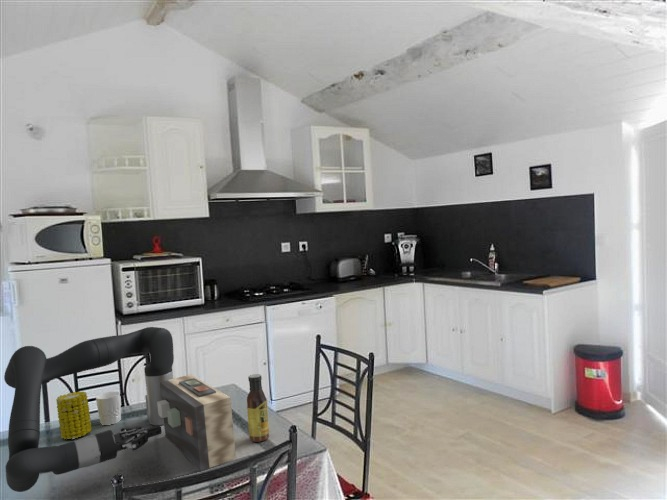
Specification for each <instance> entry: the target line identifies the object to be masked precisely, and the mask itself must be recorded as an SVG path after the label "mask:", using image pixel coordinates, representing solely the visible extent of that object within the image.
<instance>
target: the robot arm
mask: <svg viewBox="0 0 667 500" xmlns="http://www.w3.org/2000/svg"><path fill="white" fill-rule="evenodd" d="M173 340H174V339H173V336H172V333H171V332H170V331H169V330H168V329H167V328H165V327H158V326H155V327H154V326H147V327H144V328H140V329H138V330H134V331H132V332H129V333H125V334H119V335H110V336H104V337H97V338H92V339H87V340H84V341H82V342H78V343H77V344H75V345H73V346H71V347H69V348H68V349H66V350H64V351H63V352H60V353H58V354H57V355H53V356H52V357H51V356H50V357H48V358H47V355H46V354H45V352H44V351H43V350H42V349H41V348H39V347H37V346H33V345H26V346H21V347H19V348H17V350H15V351H14V352H13V354H12V355H11V357H10V359H9V361H8V364H7V366H6V368H5V371H4V382H5V383H6V385H7V386H8V387H10V388H13V389H14V395H13V400H12V406H11V410H10V416H9V422H8V433H7V445H8V460H7V462H6V464H5V477H6V478H5V479H6V484H7V486H8V487H9V489H10V490H12V491H13V492H17V493H23V492H26V491H28V490H30V489H32V488H33V487H34V486H35V485H36V483H37V481H38V480H39V478H40V474H42V473H48V472H52V473H53V474H54V475H57V476H58V475H62V474H66V473H70V472H73V471H76V470H79V469H84V468H89V467H91V466H95V465H98V464H101V463H104V462H107V461H108V462H109V461H110V460H113V459H116V458H117V455H118V452H119V451H126V450H129V449H131V450H132V452H135V451H138V450H139V449H140V448H141V447H143V446H144V445H146V444H147V443H148V442H149V439H150V438H153V437H156V436H159V435H162V433H163V431H162V426H164V418H162V417H160V416H159V415H158V405H157V402H158V401H162V398H161V388H160V382H162V381H166V380H170V379H174V375H173V365H174V359H175V358H174V357H175V356H174V341H173ZM137 354H149V363H148V364H147V365H145V366H144V370H143V371H144V379H145V381H144V382H145V388H146V395H145V396H144V398H145V406H146V416H147V422H148V423H149V424H150V425H153V426H150V427H148V428H146V427H142V426H136V427H135V426H134V427H133V426H132V427H121V428H120V431H119V432H117V433H115V434H114V432H113V431H112V430H111V429H108V430H104V431H101V432H98V433H94V434H91V435H87V436H84V437H83V436H82V437H81V438H78V439H75V440H73V441H70V442H66V443H64V444H63V443H62V444H60V445H55V446H56V447H51V446H43V447H40V446H39V444H40V439H41V435H40V434H41V394H42V393H41V392H42V385H43V384H45V383H47V382H50V381H53V380H57V379H59V378H62V377H66V376H69V375H70V376H71V375H74V374H78V373H82V372H86V371H90V370H95V369H99V368H103V367H107V366H109V365H112V364H114V363H115V362H117V361H119V360H120V359H123V358H124V357H126V356H131V355H137Z"/></svg>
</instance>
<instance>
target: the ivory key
mask: <svg viewBox="0 0 667 500" xmlns="http://www.w3.org/2000/svg"><path fill="white" fill-rule="evenodd" d="M157 405H158V415H159V416H160V417H162V418H165V417H168V416H167V410H169V409H170V406H169V402H167V401H166V400H162V401H158V402H157Z"/></svg>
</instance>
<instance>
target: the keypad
mask: <svg viewBox="0 0 667 500" xmlns="http://www.w3.org/2000/svg"><path fill="white" fill-rule="evenodd" d="M160 388H161V398H162V400H166V401H167V402H169V406H170V409H172V408H176V409H177V410H179V411H180V419H181V425H180V426H177V427H171V426H170V425H169V424H168V417H165V418H164V424H163V427H164V434H165V435H164V437H165V438H167V439H168V440H169V442H171V443H172V444H173V445H174V446H175V447H176V448H177V449H178V450H179V451H180V452H181V453H182V454H183V455H184V456H185V457H186V458H187V459H188V460H189V461H190V462H191V463H192V464H193V465H194V466H195V467H197V468H198V471H201V472H202V471H205V470H207V469H210V468H213V467H215V466H218V465H221V464H225V463H228V462H230V461H233V460H236V459H237V455H236V444H235V433H234V424H233V422H234V421H233V411H232V410H233V409H232V401H231V400H232V399H231V397H230V395H227V394H225V393H224V392H222V391H220V390H219V389H217V388H215V387H213V386H212V385H210V384H208V383H207V382H205V380H204V381H203V380H202V379H200V378H198V377H197V376H195V375H193V374H187V375H183V376H180V377H173V379H170V380H166V381H162V382H160ZM187 416H188V417H189V418H190V419H192V426H193V435H192V436H191V435H190V434H189V433H187V432H186V424H185V417H187Z"/></svg>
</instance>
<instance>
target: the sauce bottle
mask: <svg viewBox="0 0 667 500" xmlns="http://www.w3.org/2000/svg"><path fill="white" fill-rule="evenodd" d="M248 383H249V392H248V394H247V398H246V410H247V423H248V435H249V439H250V441H251V442H253V443H260V442H264V441H267V440H268V439H269V437H270V423H269V410H268V409H269V408H268V399H267V397H266V395H265V392H264V390H263V386H262V374H260V373H254V374H250V375H248Z"/></svg>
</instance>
